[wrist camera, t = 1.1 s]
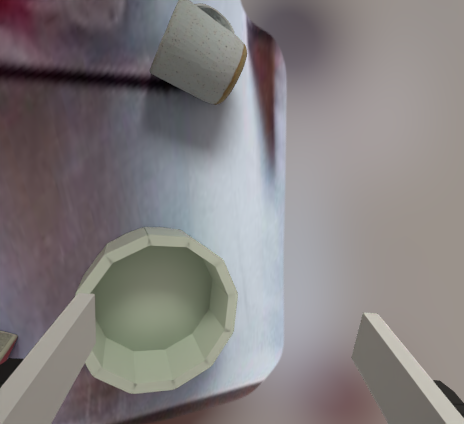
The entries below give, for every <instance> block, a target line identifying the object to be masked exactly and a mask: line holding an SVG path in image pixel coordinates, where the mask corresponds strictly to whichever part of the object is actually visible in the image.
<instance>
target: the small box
mask: <svg viewBox="0 0 464 424" xmlns="http://www.w3.org/2000/svg"><path fill="white" fill-rule="evenodd" d="M17 337H18V336H17V335H15V334H11V333H7V332H4V331H0V365H1V364H2V363H3V362H5V361H6V360H7V358H8V357H9V355H10V352H11V350H12V348H13V346H14V344H15V342H16V340H17Z"/></svg>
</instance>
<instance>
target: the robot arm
mask: <svg viewBox="0 0 464 424" xmlns="http://www.w3.org/2000/svg"><path fill="white" fill-rule="evenodd" d="M95 344H96V323H95V294H86V293H78V294H77V295H76V296H75V297H74V299H73V300H72V301H71V302H70V303H69V305H68V306H67V307H66V308H65V310H64V311H63V312H62V313H61V314H60V316H59V317H58V318H57V319H56V321H55V322H54V323H53V324H52V325H51V327H50V328H49V329H48V330H47V332H46V333H45V334H44V335H43V336H42V338H41V339H40V340H39V341H38V343H37V344H36V345H35V346H34V347H33V349H32V350H31V351H30V352H29V354H28V355H27V356H26V357H25V359H15V358H9V359H8V360H6V361H5V362H3V363H2V364H1V365H0V424H51V423H52V421H53V420H54V418H55V416H56V414H57V412H58V410H59V409H60V407H61V405H62V403H63V401H64V400H65V398H66V396H67V394H68V392H69V391H70V389H71V387H72V385H73V383H74V382H75V380H76V378H77V376H78V374H79V373H80V371H81V369H82V367H83V365H84V364H85V362H86V360H87V358H88V356H89V355H90V353H91V351H92V349H93V347H94V345H95ZM351 358H352V360H353V361H354V363H355V365H356V367H357V368H358V371H359V372H360V374H361V376H362V378H363V380H364V381H365V383H366V385H367V387H368V389H369V390H370V392H371V394H372V396H373V398H374V399H375V401H376V403H377V405H378V406H379V408H380V410H381V412H382V414H383V415H384V417H385V419H386V421H387V423H388V424H464V403H463V402H462V401H461V399H460V398H459V397H458V396H457V395H456V394H455V392H454V391H452V390H451V389H450V388H449V387H447V386H446V385H445V384H443V383H442V382H441V381H437V380H432V379H431V378H430V377H429V375H428V374H427V373H426V372H425V370H424V369H423V368H422V367H421V366H420V364H419V363H418V362H417V361H416V360H415V358H414V357H413V356H412V355H411V353H410V352H409V351H408V350H407V349H406V347H405V346H404V345H403V344H402V342H401V341H400V340H399V339H398V338H397V336H396V335H395V334H394V333H393V332H392V330H391V329H390V328H389V327H388V326H387V325H386V323H385V322H384V321H383V319H382V318H381V317H380V316H379V315H378V314H375V313H363V315H362V319H361V323H360V326H359V330H358V334H357V338H356V342H355V346H354V350H353V354H352V357H351Z"/></svg>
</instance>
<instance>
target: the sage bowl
mask: <svg viewBox="0 0 464 424" xmlns="http://www.w3.org/2000/svg"><path fill="white" fill-rule="evenodd" d="M78 293H86V294H95V323H96V344H95V345H94V347H93V349H92V351H91V353H90V355H89V356H88V358H87V360H86V362H85V364H86V366H87V368H88V369H89V371H90V373H91V375H92V376H93V377H95V378H97V379H99V380H101V381H103V382H106V383H108V384H110V385H112V386H114V387H117V388H119V389H121V390H123V391H125V392H128V393H130V394H131V393H132V394H138V393H148V392H157V391H167V390H174V388H175V389H177V388H178V387H180V386H181V385H183V384H184V383H186V382H188V381H189V380H191V379H192V378H194V377H196V376H197V375H199V374H200V373H202V372H204V371H205V370H207V369H208V368H210V366H212V365H213V363H214V362H215V360H216V359H217V357H218V355H219V354H220V352H221V351H222V349H223V348H224V346H225V345H226V343H227V342H228V340H229V338H230V337H231V335H232V334H233V332H234V324H235V315H236V306H237V298H238V294H237V290H236V288H235V286H234V284H233V281H232V279H231V277H230V274H229V272H228V270H227V267H226V265H225V263H224V260H223V259H222V258H220V257H219V256H218V255H216V254H215V253H213V252H212V251H210V250H209V249H208V248H206V247H205V246H203V245H202V244H200V243H199V242H198V241H196V240H195V239H193V238H192V237H190V236H189V235H187V234H186V233H185V232H183V231H182V230H180V229H171V228H164V227H144V228H143V227H142V228H140V229H137V230H134V231H131V232H128V233H126V234H124V235H122V236H120V237H118V238H117V239H115V240H113V241H111V242H109V243H108V244H107V245H106V246H105V247H104V249H103V250H102V251H101V252H100V254H99V255H98V256H97V257H96V259H95V260H94V262H93V263H92V265H91V266H90V267H89V269H88V270H87V271H86V273H85V274H84V276H83V278H82V280H81V283H80V285H79V287H78V289H77V291H76V294H75V296H76V295H77V294H78Z"/></svg>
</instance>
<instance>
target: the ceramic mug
mask: <svg viewBox="0 0 464 424" xmlns="http://www.w3.org/2000/svg"><path fill="white" fill-rule="evenodd" d="M246 57H247V50H246V46H245V44H244V43H243V42H242V41H241V40H240V39H239V38H238V37H237V36H236V35H235V34H234V30H233V28H232V26H231V25H230V23H229V22H228V20H227V19H226V18H225V17H224V16H223V15H222V14H221V13H220V12H218V11H217V10H216V9H214V8H212V7H210V6H208V5H206V4H193V3H192V2H190V1H189V0H179V1H178V3H177V5H176V7H175V10H174V12H173V15H172V17H171V19H170V21H169V24H168V27H167V29H166V31H165V33H164V36H163V38H162V40H161V43H160V45H159V48H158V51H157V53H156V55H155V58H154V61H153V63H152V66H151V68H150V73H151V74H153V75H155V76H157V77H158V78H160V79H162V80H164V81H166V82H168V83H170V84H172V85H174V86H176V87H178V88H179V89H181V90H183V91H185V92H187V93H189V94H191V95H193V96H195V97H197V98H198V99H200V100H202V101H204V102H207V103H211V104H215V105H216V104H219V103H221V102H223V101H224V100H225V99H226V98H227V96H228V95H229V94H230V92H231V91H232V89H233V87H234V86H235V84H236V82H237V80H238V78H239V76H240V74H241V72H242V70H243V67H244V64H245V61H246Z"/></svg>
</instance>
